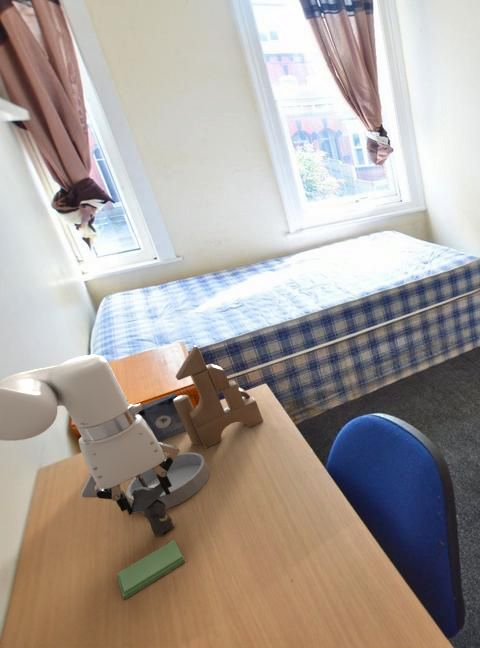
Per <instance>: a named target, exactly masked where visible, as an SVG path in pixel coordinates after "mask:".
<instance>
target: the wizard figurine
mask: <svg viewBox="0 0 480 648" xmlns="http://www.w3.org/2000/svg"><path fill="white" fill-rule="evenodd" d="M135 477H136V478H138V480H139V482H140V483H141V484H142V486H143V487H140V488H137V489H135V490H134V491H133V493H132V495H133V499H134V501H133V503H132V504H131V506H132V510H133V513H139V512H140V513H142V512H143V511H144V513H143V516H144V517H145V518H146V519H147V520H148V522H149V525H150V527H151V531H152V533H153V536H161V535H163V534H164V533H167V532H169V531H171V530H172V529H173V528H174V527H175V525H174V523H173V519H172V518H171V517H170V516H169V515H168V514H167V512H166V511H165V510H166V509H165V507H166V508H168V509H167V510H170V508H169V507H168V505H167V503H166V502H165V501H164V500H163V499H162V498H161V497H160V495H161V494H162V493H163V492H164V490H163V488H162V486H161V484H154V485H151V486H149V487H148V486H147V484H146V483H145V481H144V479H143V477H141V474H139V475H137V476H135ZM135 477H134V478H135ZM132 495H131V496H132ZM164 509H165V510H164Z"/></svg>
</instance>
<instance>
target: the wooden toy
mask: <svg viewBox="0 0 480 648" xmlns="http://www.w3.org/2000/svg"><path fill="white" fill-rule="evenodd" d="M188 377H191V381H192V382H193V385H194V387H195V389H196V391H197V394H198V396H199V400H198V404H197V405H196V406H195V407H194V406H193V403H192V401H191V399H190V396H189V395H188V394H182V395H178V396H177V398H175V399H174V400H173V403H174V405H175V408H176V410H177V412H178V414H179V416H180V418H181V420H182V423H183V425H184V427H185V429H186V430H185V432H186V433H187V435H188V438H189V440H190V442H191V443H192V444H193V445H199V444H202V445H203V447H204V449H207V448H209V447H211V446H213V445H215V444H218V443H220V442H222V434H223V432H224V430H226V428H227V427H228V426H230V425H232V424H235V423H243V424H245V425H246V426H247V427H248V428H251V427H252V426H255V425H257V424H259V423H261V422H263V421H264V418H263V416H262V413H261V411H260V408H259V405H258V403H257V400H256V399H254V397H253V396H251V395H250V393H248V392H247V391H246V390H244V388H242V387H239V385H238V383H237V382H235V380H229V379H228V376H227V374H226V371H225V369H224V368H222V366H219V365H216V364H213V363H208V364H206V362H205V360H204V357H203V355H202V352H201V350H200V347H199V346H197V344H195V345H193V346H192V348H191V350H190V351H189V353H188V354H187V356H186V358H185V360H184V361H183V363H182V365H181V366H180V367H179V369H178V370H177V373H176V374H175V379H176V380H177V381H181V380H183V379H185V378H188ZM220 391H221V392H222V395H223V397H224V400H225V402H226V404H227V407H225V408H224V407H223V404H222V402H221V400H220V397H219V395H218V392H220Z"/></svg>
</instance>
